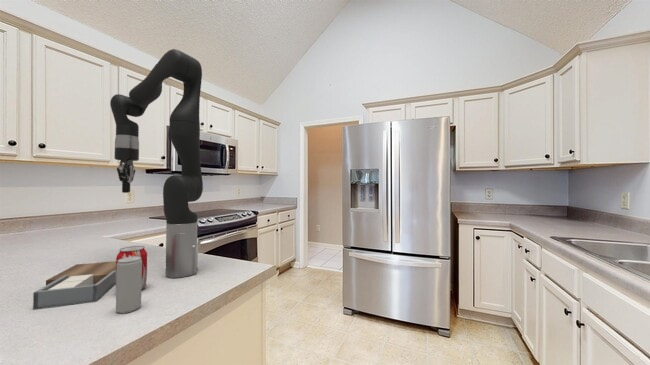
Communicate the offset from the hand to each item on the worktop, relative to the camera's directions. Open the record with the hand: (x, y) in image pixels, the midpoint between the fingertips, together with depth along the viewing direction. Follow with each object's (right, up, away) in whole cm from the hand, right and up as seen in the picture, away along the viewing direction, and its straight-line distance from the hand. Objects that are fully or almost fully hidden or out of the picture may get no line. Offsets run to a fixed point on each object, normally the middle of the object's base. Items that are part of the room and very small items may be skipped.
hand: (126, 192), depth 99 cm
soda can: (+22, -27, -27) cm, 44 cm away
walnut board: (+4, -27, -17) cm, 32 cm away
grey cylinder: (+30, -27, -38) cm, 55 cm away
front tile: (+10, -26, -32) cm, 43 cm away
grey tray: (+11, -27, -30) cm, 42 cm away
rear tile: (+8, -26, -27) cm, 39 cm away
